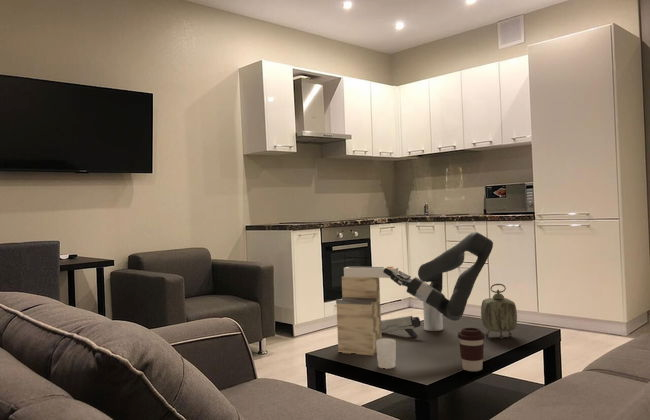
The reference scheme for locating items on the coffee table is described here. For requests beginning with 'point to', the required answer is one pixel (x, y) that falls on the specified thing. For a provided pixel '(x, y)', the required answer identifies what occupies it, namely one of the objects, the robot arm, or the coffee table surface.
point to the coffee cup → (471, 348)
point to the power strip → (368, 272)
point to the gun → (401, 325)
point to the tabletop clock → (498, 313)
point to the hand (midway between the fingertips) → (386, 269)
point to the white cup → (386, 353)
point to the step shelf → (359, 315)
